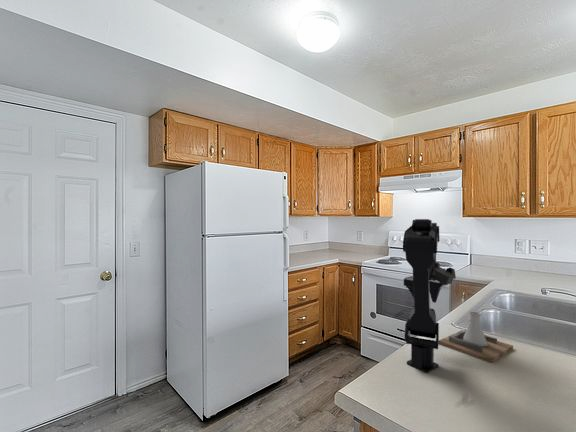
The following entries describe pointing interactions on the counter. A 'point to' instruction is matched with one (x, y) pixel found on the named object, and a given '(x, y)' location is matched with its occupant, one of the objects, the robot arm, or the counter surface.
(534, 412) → the counter surface
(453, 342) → the board
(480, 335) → the flask
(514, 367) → the counter surface
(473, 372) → the counter surface
